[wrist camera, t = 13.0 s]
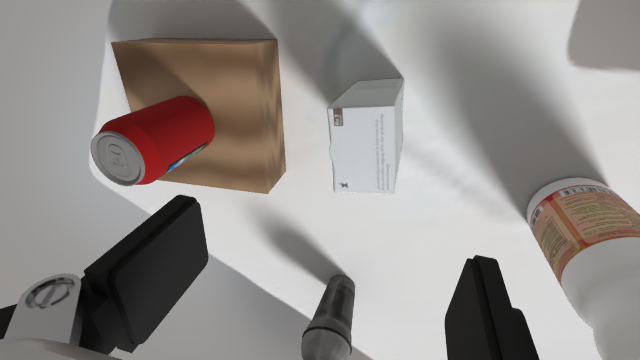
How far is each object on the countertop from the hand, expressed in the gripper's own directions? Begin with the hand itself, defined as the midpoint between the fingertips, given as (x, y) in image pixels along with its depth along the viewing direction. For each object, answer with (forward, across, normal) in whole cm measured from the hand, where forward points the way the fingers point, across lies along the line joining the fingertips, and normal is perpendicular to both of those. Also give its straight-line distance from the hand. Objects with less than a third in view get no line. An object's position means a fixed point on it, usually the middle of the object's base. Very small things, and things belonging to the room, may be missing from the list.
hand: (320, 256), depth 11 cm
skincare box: (+32, 0, +4) cm, 32 cm away
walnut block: (+32, +22, +7) cm, 39 cm away
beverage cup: (+31, +2, +35) cm, 47 cm away
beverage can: (+25, +22, +6) cm, 34 cm away
